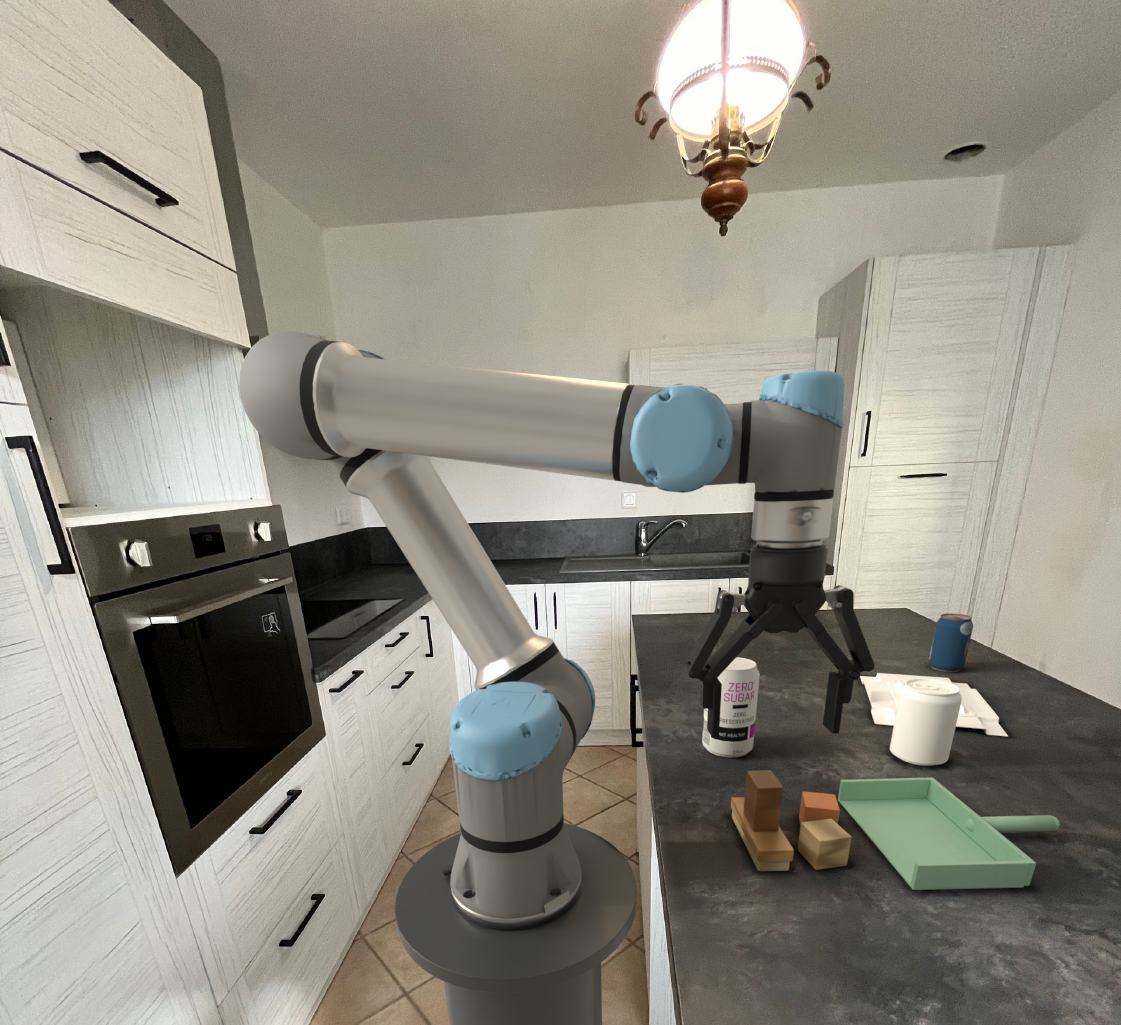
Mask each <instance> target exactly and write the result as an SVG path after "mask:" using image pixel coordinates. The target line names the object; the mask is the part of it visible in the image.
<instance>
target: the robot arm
mask: <svg viewBox="0 0 1121 1025" xmlns="http://www.w3.org/2000/svg"><path fill="white" fill-rule="evenodd" d="M238 389H239V396H240V400H241V404H242V407H243V408H244V413H245V414H246V416H247V418H248V420H249V422H250V423H251V425H252V426H253V427H254V429H255V430H256V431H257V433H258V434H259V435H260V436H261V437H262V438H263V439H264V440H265V441H266V442H267V443H269V444H270V445H271V446H273V447H274V448H276V449H278V450H279V451H281V452H284V453H285V454H287V455H289V456H291V457H296V458H300V459H304V460H317V461H328V462H329V463H330V464H331V466H332V467H333V469H334V471H335V473H336V474H337V476H338V478H339V479H340V480H341V482H342V483H343V485H344V486H345V487H346V489H347V491H348V492H349V493H350V494H352V495H355V496H359V497H363V498H366V499H368V500H369V502H370V504H371V505H372V506H373V508H374V509H375V511H376V512H377V514H378V515H379V517H380V519H381V520H382V522H383V524H384V525H385V527H386V528H387V530H388V532H389V533H390V535H391V536H392V538H393V540H394V541H395V543H396V544H397V546H398V547H399V549H400V550H401V552H402V553H403V555H404V557H405V559H406V560H407V561H408V563H409V564H410V566H411V567H412V569H413V571H414V572H415V574H416V575H417V577H418V579H419V580H420V581H421V583H422V585H423V587H424V588H425V590H426V591H427V593H428V595H429V597H430V598H431V599H432V601H433V602H434V604H435V605H436V606H437V608H438V610H439V612H440V613H441V615H442V616H443V618H444V619H445V621H446V623H447V624H448V625H449V628H450V629H451V631H452V632H453V634H454V635H455V637H456V639H457V640H458V642H459V643H460V644H461V647H462V648H463V649H464V651H465V652H466V654H467V656H468V657H469V659H470V661H471V662H472V664H473V665H474V667H475V669H476V675H475V680H474V685H473V688H474V689H475V690H473V691H471V692H469V693H468V694H467V695H464V697H462V698H461V699H460V700H459V701H458V702H457V704H456V705H455V707H454V708H453V709H452V711H451V714H450V719H449V738H448V747H449V753H450V757H451V762H452V769H453V779H454V786H455V795H456V804H457V805H456V806H457V812H458V820H459V829H460V833H461V837H460V840H459V844H458V848H457V852H456V856H455V860H454V864H452V865H450V866H448V867H445V868H443V870H442V871H443V874H444V875H445V876H447V875H449V874H451V878H450V886H451V894H452V900H453V903H454V905H455V907H456V909H457V910H458V911H459V913H460V914H461V915H462V916H463V917H465V918H466V919H467V920H469V921H471V922H472V923H474V924H477V925H479V926H482V927H485V928H489V929H494V930H503V931H516V930H525V929H530V928H534V927H538V926H541V925H544V924H547V923H549V922H551V921H553V920H555V919H557V918H558V917H560V916H561V915H563V914H564V913H565V912H567V911H568V910H569V909H570V908H571V907H572V906H573V904H574V903H575V902H576V900H577V899H578V897H579V894H580V891H581V887H582V876H581V866H580V863H579V859H578V857H577V855H576V852H575V850H574V847H573V845H572V843H571V840H570V838H569V835H568V833H567V831H566V828H565V826H564V823H565V821H564V820H565V818H564V789H563V787H564V786H563V780H564V779H563V778H564V772H565V770H566V768H567V766H568V764H569V762H570V760H571V759H572V757H573V755H574V753H575V752H576V750H577V748H578V747H579V745H580V743H581V740H582V739H584V738H585V736H586V735H587V734H588V732H589V730H590V727H591V725H592V721H593V718H594V713H595V709H596V694H595V688H594V685H593V682H592V680H591V678H590V677H589V675H588V673H587V672H586V671H585V670H584V669H583V668H582V667H581V665H579V664H578V663H577V662H576V661H574V660H572V659H568V658H566V657H564V656H563V655H562V653H561V651H560V649H559V648H558V646H557V645H556V643H555V641H554V640H553V639H552V638H550V637H546V636H542V635H539V634H537V633H535V631H534V630H533V628H532V626H531V625H530V623H529V622H528V619H527V618H526V616H525V615H524V613H523V612H522V609H521V608H520V607H519V605H518V603H517V602H516V600H515V599H514V596H513V595H512V593H511V592H510V589H509V588H508V586H507V585H506V583H505V581H504V580H503V579H502V577H501V575H500V574H499V571H498V570H497V569H496V567H495V565H494V564H493V562H492V561H491V558H490V557H489V555H488V554H487V552H486V551H485V549H484V547H483V546H482V544H481V542H480V541H479V539H478V537H477V536H476V534H475V533H474V531H473V529H472V528H471V526H470V524H469V523H468V521H467V519H466V518H465V515H464V514H463V513H462V511H461V510H460V507H459V506H458V504H457V503H456V501H455V500H454V498H453V496H452V494H451V493H450V491H449V490H448V489H447V486H446V485H445V483H444V482H443V480H442V478H441V476H440V475H439V473H438V472H437V470H436V468H435V467H434V465H433V463H432V458H439V459H446V460H453V461H454V460H455V461H462V462H468V463H469V462H470V463H477V464H486V465H493V466H500V467H506V468H507V467H508V468H515V469H523V470H530V471H531V470H532V471H537V472H538V471H539V472H546V473H552V474H553V473H554V474H561V475H569V476H576V477H583V478H592V479H597V480H598V479H600V480H606V481H607V480H608V481H613V482H622V483H626V484H631V485H640V486H642V487H645V488H657V489H658V490H661V491H664V492H668V493H669V492H670V493H683V494H684V493H690V492H695V491H697V490H700V489H701V488H704V487H705V486H717V485H719V486H720V485H721V486H722V485H735V484H736V485H737V484H738V485H745V484H754V493H753V494H754V496H753V499H754V500H753V510H752V522H751V532H750V534H751V535H750V537H751V539H752V540H753V541H755V542H756V544H754V545H753V546H752V547H751V548H750V550H749V564H748V577H747V578H748V581H747V588H746V590H745V592H744V593H734V592H728V591H727V590H725V589H721V590H719V591H718V592H717V594H716V601H715V606H714V611H713V612H712V614H711V617H710V618H709V619H708V622H707V624H706V626H705V628H704V629H703V631H702V633H701V634H700V635H699V636H700V637H699V638H698V640H697V641H696V644H695V645H694V648H693V649H692V650H691V653H690V655H689V656H688V658H687V660H686V662H685V664H684V667H683V668H684V670H685V672H686V674H687V675H688V677H689V678H690V679H697V680H700V686H699V702H700V705H701V706H702V708H703V710H704V709H708V718H707V729H708V731H709V733H710V735H711V737H712V738H719V726H720V709H721V691H722V684H721V682H720V681H719V680H718V677H719V676H720V674H721V673H722V672H723V671H724V670H725V669H726V668H727V667H728V666H729V665H730V664H731V663H732V661H733V660H734V659H735V658H736V657H738V656H739V655H740V654H741V653H742V652H743V651H744V650H745V648H747V646H749V644H750V643H751V642H752V641H754V639H756V638H758V637H759V636H760V635H761V634H762V633H763V632H766V633H768V634H779V633H782V632H787V633H791V634H792V633H799V632H800V631H802V630H803V629H804V630H805V631H806V632H807V633H808V634H809V636H810V638H812V640H813V641H814V642H815V643H816V644H817V646H818V647H819V648H820V650H821V651H822V652H823V654H824V655H825V656H826V657H827V658H828V660H829V661H830V662H831V663H832V665H833V666H834V668H836V670H837V671H829V672H828V680H827V686H826V687H827V688H826V694H825V703H824V712H823V719H822V725H823V726H824V727H825V729H827V730H828V731H829V732H830V733H831V734H840V730H841V721H842V716H843V706H844V704H849V703H850V702H851V700H852V697H853V696H852V695H853V688H854V682H855V681H856V680H859V678H860V676H861V673H864V672H867V673H869V672H872V671H873V670H874V669H875V662H874V659H873V656H872V654H871V651H870V649H869V646H868V643H867V641H866V638H865V636H864V634H863V633H864V632H863V630H862V628H861V626H860V623H859V621H858V618H857V615H856V612H855V610H854V606H855V603H854V601H855V600H854V599H855V593H854V590H852V589H851V588H848V587H846V586H843V585H840V584H838V585H835V586H834V587H833V588H830V589H825V588H824V581H825V576H826V569H827V568H826V567H827V560H828V551H829V548H827V546H826V544H823V541H826V540H827V539H829V537H830V533H831V532H830V531H831V525H832V524H831V523H832V516H833V515H832V514H833V506H834V495H835V487H836V479H837V471H838V464H839V457H840V456H839V455H840V446H841V440H842V431H843V429H844V425H845V424H844V422H843V419H844V418H843V416H844V401H845V400H844V399H845V381H844V379H843V376H841V375H840V374H839V373H838V372H835V371H831V370H803V371H795V372H791V373H782V374H777V375H773V376H770V377H768V378H766V379H765V380H764V381H763V383H762V385H761V390H760V394H759V396H758V399H755V400H751V401H744V402H737V403H736V402H734V403H724V402H723V400H722V399H721V398H720V397H719V396H718V395H717V394H716V393H713V392H711V391H710V390H709V389H708V388H706V387H703V386H699V385H694V384H687V383H677V384H673V385H670V386H665V387H663V386H654V385H653V386H652V385H644V384H643V385H640V384H638V385H637V384H629V383H626V382H625V383H624V382H617V381H615V382H614V381H605V380H594V379H585V378H576V377H567V376H566V377H565V376H556V375H555V376H554V375H545V374H536V373H525V372H516V371H515V372H514V371H505V370H494V369H486V368H485V369H484V368H475V367H466V366H458V365H457V366H455V365H446V364H437V363H425V362H416V361H407V360H406V361H405V360H397V359H387V358H385V357H383V356H381V355H379V354H376V353H374V352H371V351H368V350H362V349H357V348H356V347H355V346H354V345H352V344H350V343H348V342H344V341H336V340H327V339H324V338H321V337H319V336H316V335H313V334H309V333H305V332H300V331H280V332H274V333H271V334H268V335H266V336H264V337H263V338H260V339H259V340H258V341H257V342H255V343H254V345H252V346H251V347H250V349H249V351H248V352H247V354H246V355H245V357H244V359H243V361H242V363H241V366H240V370H239V380H238ZM824 589H825V590H824ZM825 603H827V606H828V607H829V608H831V609H832V611H833V614H834V616H835V619H836V621H837V624H838V626H839V630H840V632H841V635H842V637H843V639H844V642H845V644H846V647H847V650H848V652H849V655H850V657H851V659H849V657H848V656H846V654H845V653H844V652H843V651H842V649H841V648H840V646H839V645H838V643H836V641H835V640H834V638H832V636H831V635H830V634H829V633H828V631H827V630H826V627H825V626H824V625H823V623H822V622H821V621H820V620H819V618H818V617H817V615H816V614H817V613H818V612H819V611H820V609H821V608H822V607H823V606H824V605H825ZM741 606H744V608H745V610H746V611H747V612H748V614H747V615H746V616H745V617H744V618H743V619H742V620H741V621H740V623H739V624H738V627H737V628H736V629H735V631H733V633H732V634H731V635H730V636H729V637H728V638H727V639H726V640H725V642H724V643H723V644H722V645H721V646H720V647H719V648H718V649H717V650H716V652H715V653H714V654H713V655H712V656H711V654H712V653H713V651H714V649H715V647H716V646H717V644H718V643H719V640H720V639H721V637H722V635H723V633H724V631H725V630H726V628H727V626H728V624H729V622H730V620H731V617H732V615H734V614H736V613H737V612H738V610H739V608H740V607H741ZM710 656H711V657H710Z"/></svg>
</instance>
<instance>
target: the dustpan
mask: <svg viewBox="0 0 1121 1025" xmlns="http://www.w3.org/2000/svg"><path fill="white" fill-rule="evenodd" d="M837 802H838V803H839V804H840V805H841V806H842V807H843V808H844V809H845V811H846V812H847V813H848V814H849V816H850V817H851V818H852V819H853V821H855V823H856V824H857V825H858V826H859V828H860V829H861V830H862V831H863V832H864V833H865V834H866V836H867V837H868V838H869V839H870V841H871V842H872V843H873V844H874V845H875V846H876V848H877V850H879V851H880V853H881V854H882V855H883V856H884V857H885V859H886V860H887V861H888V862H889V864H891V866H892V867H893V868H894V870H896V871H897V873H898V874H899V875H900V876H901V877H902V879H903V880H904V881H905V882H906V883H907V885H908V886H909V887H910V888H911V890H912V891H923V890H924V891H925V890H927V891H928V890H966V889H967V890H972V889H1010V888H1011V889H1012V888H1013V889H1015V888H1025V887H1029V886H1031V882H1032V879H1033V875H1034V872H1035V869H1036V866H1037V862H1036V861H1035V860H1034V859H1033V858H1031V857H1030V856H1028V855H1027V854H1026V853H1025V852H1023V851H1022V850H1021V848H1019V847H1018V846H1017V845H1015V844H1014V843H1013V842H1012V841H1011V840H1010V839H1008V838H1006V837H1005V836H1004V835H1003V834H1012V833H1013V834H1015V833H1017V834H1018V833H1052V832H1053V833H1054V832H1056V831H1058V830H1059V829H1060V827H1061V822H1060V820H1059V819H1058V818H1057V817H1055V816H1053V815H1051V814H1049V815H1048V814H1043V815H1042V814H1040V815H1005V816H1004V815H1000V816H980V815H979V814H978V813H976V812H975V811H974V810H973V809H972V808H970V807H969V806H968V805H967V804H966V803H964V802H963V801H962V800H961V799H959V798H958V797H957V796H955V794H954V793H952V792H951V791H950V790H949V789H948V788H946V787H945V786H944V785H942V784H941V783H940V782H939V781H938V780H936V779H935V778H934V777H902V778H901V777H899V778H898V777H897V778H896V777H895V778H862V779H859V778H858V779H857V778H856V779H840V782H839V790H838V796H837Z"/></svg>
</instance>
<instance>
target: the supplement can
mask: <svg viewBox="0 0 1121 1025" xmlns="http://www.w3.org/2000/svg"><path fill="white" fill-rule="evenodd" d="M718 680H719V681H720V682H721V684H722V691H721V709H720V726H719V738H712V737H711V735H710V733H709V731H708V729H707V718H708V709H704V708H703V720H702V721H703V723H702V742H701V743H702V746H703V747H704V748H705V749H706V750H707V751H708V752H709V753H710V754H713V755H715V756H718V757H723V758H739V757H743V756H746V755H747V754H748V753H749V752H751V751H753V748H754V740H755V732H756V731H755V730H756V718H757V707H758V696H759V686H760V671H759V669H758V666H757V663H756V662H755V661H754V660H752V659H749V658H744V657H738V656H737V657H736V658H735V659H734V660H733V661H732V663H731V664H730V665H729V666H728V667H727V668H726V669H725V670H724V671H723V672H722V673H721V674H720V676H719V677H718Z"/></svg>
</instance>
